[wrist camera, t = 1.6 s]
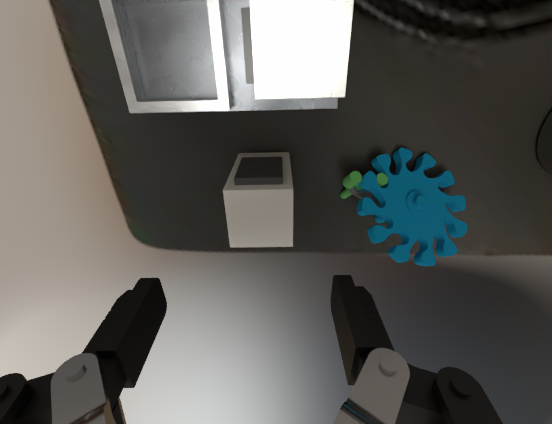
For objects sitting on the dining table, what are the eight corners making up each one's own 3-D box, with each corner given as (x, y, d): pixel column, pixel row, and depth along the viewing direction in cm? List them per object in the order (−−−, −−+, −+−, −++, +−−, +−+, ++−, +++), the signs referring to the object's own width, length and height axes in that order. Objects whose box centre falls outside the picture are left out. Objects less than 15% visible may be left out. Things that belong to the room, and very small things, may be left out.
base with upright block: (344, -19, 18) (393, -78, 11) (334, 106, 22) (365, 131, 14) (111, -12, 19) (-10, -63, 11) (142, 111, 23) (69, 138, 15)
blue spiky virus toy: (484, 179, 24) (461, 288, 20) (432, 199, 29) (408, 287, 26) (375, 117, 23) (334, 221, 19) (343, 150, 28) (307, 235, 25)
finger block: (289, 146, 24) (293, 182, 17) (289, 197, 26) (292, 246, 19) (238, 147, 24) (221, 183, 17) (243, 198, 27) (230, 247, 20)
